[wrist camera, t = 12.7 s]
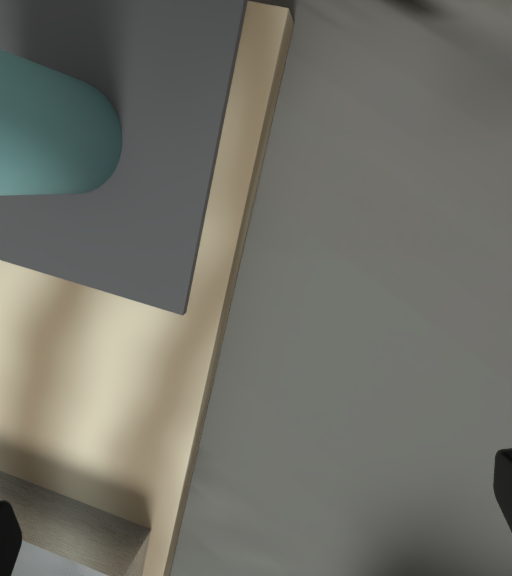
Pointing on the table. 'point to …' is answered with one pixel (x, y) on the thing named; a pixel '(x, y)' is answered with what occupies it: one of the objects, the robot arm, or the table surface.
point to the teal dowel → (53, 131)
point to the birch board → (137, 340)
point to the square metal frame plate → (71, 535)
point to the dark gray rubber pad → (129, 140)
